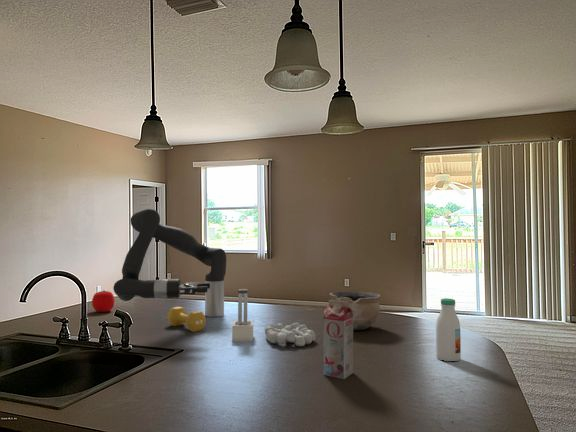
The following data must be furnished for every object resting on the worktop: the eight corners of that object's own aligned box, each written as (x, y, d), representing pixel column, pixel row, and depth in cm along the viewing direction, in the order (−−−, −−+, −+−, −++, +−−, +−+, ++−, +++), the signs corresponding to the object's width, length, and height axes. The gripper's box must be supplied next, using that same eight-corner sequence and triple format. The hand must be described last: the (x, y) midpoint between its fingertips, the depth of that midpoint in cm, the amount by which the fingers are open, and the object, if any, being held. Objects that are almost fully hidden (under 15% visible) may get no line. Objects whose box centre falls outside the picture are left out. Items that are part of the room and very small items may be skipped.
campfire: (250, 340, 167) (250, 325, 168) (287, 330, 183) (287, 317, 183) (291, 353, 152) (291, 336, 152) (328, 341, 167) (328, 326, 168)
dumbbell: (207, 330, 184) (207, 310, 184) (189, 333, 177) (189, 314, 177) (183, 323, 197) (183, 305, 197) (165, 326, 190) (165, 307, 190)
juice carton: (344, 379, 125) (344, 303, 125) (323, 375, 129) (323, 301, 129) (353, 372, 131) (353, 300, 131) (333, 368, 134) (333, 298, 135)
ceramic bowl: (322, 331, 181) (322, 295, 181) (336, 320, 201) (336, 288, 202) (375, 336, 173) (375, 299, 173) (384, 324, 193) (384, 291, 193)
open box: (233, 335, 173) (233, 321, 173) (253, 335, 174) (253, 320, 174) (232, 341, 165) (232, 325, 165) (252, 341, 166) (253, 325, 166)
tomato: (109, 313, 216) (109, 292, 216) (88, 313, 216) (88, 292, 216) (117, 309, 227) (118, 289, 227) (98, 309, 227) (98, 289, 227)
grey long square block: (238, 334, 171) (238, 289, 172) (247, 334, 171) (247, 289, 172) (238, 337, 168) (238, 290, 168) (247, 336, 168) (247, 290, 168)
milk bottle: (449, 363, 139) (448, 302, 140) (431, 357, 146) (430, 298, 146) (465, 360, 143) (465, 300, 143) (447, 354, 150) (447, 296, 150)
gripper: (163, 282, 163) (206, 280, 164) (170, 276, 177) (210, 275, 179) (163, 301, 163) (206, 300, 165) (171, 294, 177) (210, 293, 179)
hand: (208, 287), depth 172 cm, fingers open, 8 cm apart
